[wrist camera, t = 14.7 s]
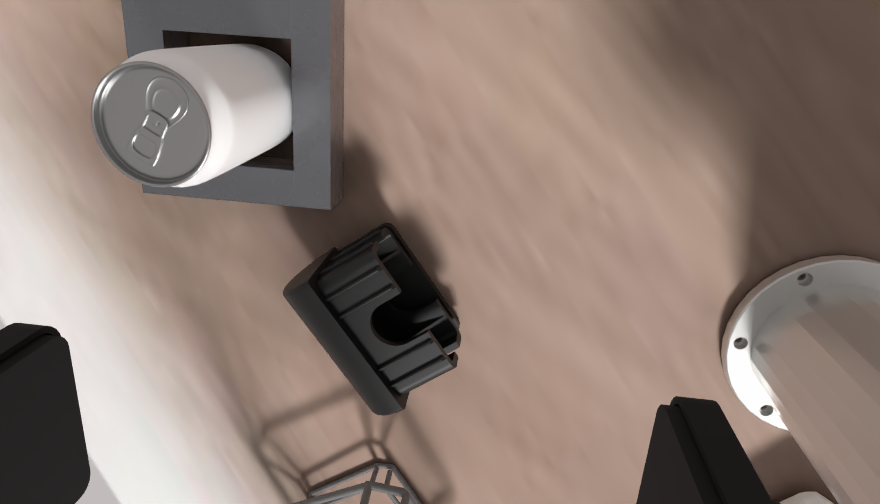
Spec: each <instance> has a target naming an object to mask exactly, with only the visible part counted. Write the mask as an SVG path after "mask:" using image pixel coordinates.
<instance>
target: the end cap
mask: <svg viewBox="0 0 880 504" xmlns="http://www.w3.org/2000/svg"><path fill="white" fill-rule="evenodd" d="M283 295H284V297H285V298H286V300H287V301H288V302H289V304H290V305H291V306H292V307H293V309H294V310H295V311H296V313H297V314H298V315H299V317H300V318H301V319H302V320H303V322H304V323H305V324H306V326H307V327H308V328H309V330H310V331H311V332H312V334H313V335H314V336H315V337H316V339H317V340H318V341H319V343H320V344H321V345H322V347H323V348H324V349H325V350H326V352H327V353H328V354H329V356H330V357H331V358H332V360H333V361H334V362H335V363H336V365H337V366H338V367H339V369H340V370H341V371H342V373H343V374H344V375H345V376H346V378H347V379H348V380H349V382H350V383H351V384H352V386H353V387H354V388H355V389H356V391H357V392H358V393H359V395H360V396H361V397H362V399H363V400H364V401H365V402H366V404H367V405H368V406H369V408H370V409H371V410H372V412H374V413H375V414H377V415H390V414H393V413H397V412H399V411H401V410H403V409H405V406H406V402H407V399H408V395H409V391H411V390H413V389H415V388H417V387H419V386H421V385H423V384H424V383H426V382H428V381H430V380H432V379H434V378H436V377H438V376H440V375H442V374H444V373H446V372H448V371H450V370H452V369H454V368H456V366H457V360H458V356H457V354H456V353H455V352H453V353H451V354H449V355H447V353H449V352H451V351H453V350H455V349H457V348H459V347H460V341H461V335H460V332H459V330H458V329H459V325H460V322H459V320H458V318H457V317H456V315H455V314H454V312H453V311H452V309H451V308H450V307H449V305H448V304H447V302H446V301H445V299H444V298H443V296H442V295H441V294H440V292H439V291H438V289H437V288H436V286H435V285H434V283H433V282H432V281H431V279H430V278H429V276H428V275H427V273H426V272H425V270H424V269H423V268H422V266H421V265H420V263H419V262H418V260H417V259H416V257H415V256H414V254H413V253H412V252H411V250H410V249H409V247H408V246H407V244H406V243H405V241H404V240H403V239H402V237H401V236H400V234H399V233H398V231H397V230H396V228H395V227H394V226H393V225H392V224H389V223H384V224H382V225H380V226H378V227H377V228H375V229H374V230H372V231H370V232H369V233H367V234H365V235H364V236H362V237H361V238H359V239H357V240H356V241H354V242H352V243H351V244H349V245H348V246H346V247H344V248H343V249H341V250H340V251H338V249H337V248H335V247H334V248H333V249H331V250H330V251H328V252H326V253H325V254H324V255H322V256H321V257H319V258H318V259H316V260H315V261H314V262H312V263H311V264H310V265H308V266H307V267H306V268H305V269H303V270H302V271H301V272H300V273H299V274H297V275H296V276H295V277H294V278H293V279H292V280H291V281H290V282H289V283H288V284H287V285H286V287H285V288H284V290H283Z"/></svg>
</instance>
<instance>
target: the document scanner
mask: <svg viewBox="0 0 880 504" xmlns="http://www.w3.org/2000/svg"><path fill="white" fill-rule="evenodd" d="M779 503H781V504H834V503H832V502H831V501H829V500H828V499H826V498H825V497H824V496H822V495H821V494H819V493H818V492H802V493H798V494H796V495H794V496H792V497H789V498H787V499H785V500H783V501H781V502H779Z"/></svg>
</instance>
